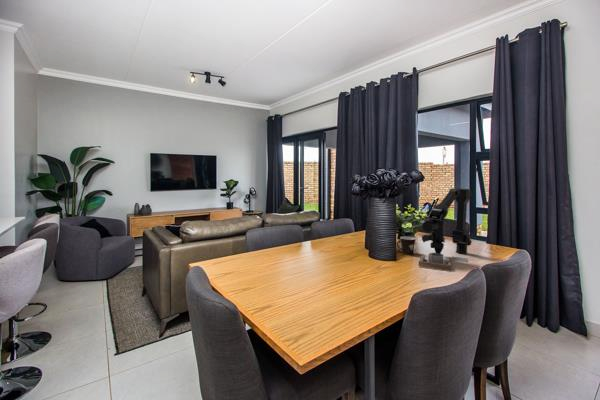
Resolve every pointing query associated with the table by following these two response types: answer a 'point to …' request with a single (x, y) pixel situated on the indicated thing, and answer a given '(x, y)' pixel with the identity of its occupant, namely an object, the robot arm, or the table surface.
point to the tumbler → (435, 258)
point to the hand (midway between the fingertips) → (437, 257)
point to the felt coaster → (459, 259)
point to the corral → (435, 264)
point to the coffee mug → (407, 245)
